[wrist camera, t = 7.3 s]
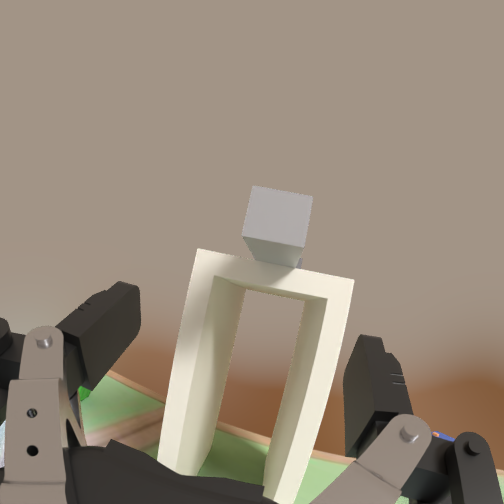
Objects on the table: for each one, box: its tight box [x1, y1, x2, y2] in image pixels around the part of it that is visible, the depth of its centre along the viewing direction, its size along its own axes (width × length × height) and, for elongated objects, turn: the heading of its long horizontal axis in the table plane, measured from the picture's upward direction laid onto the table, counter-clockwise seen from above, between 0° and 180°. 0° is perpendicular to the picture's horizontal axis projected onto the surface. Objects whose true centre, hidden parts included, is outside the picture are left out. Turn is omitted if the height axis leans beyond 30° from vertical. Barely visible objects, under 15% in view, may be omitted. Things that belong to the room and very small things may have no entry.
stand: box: [157, 249, 354, 504], centre depth 38 cm, size 26×14×32 cm, turn 175°
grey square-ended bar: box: [242, 186, 313, 269], centre depth 35 cm, size 36×6×4 cm, turn 175°
